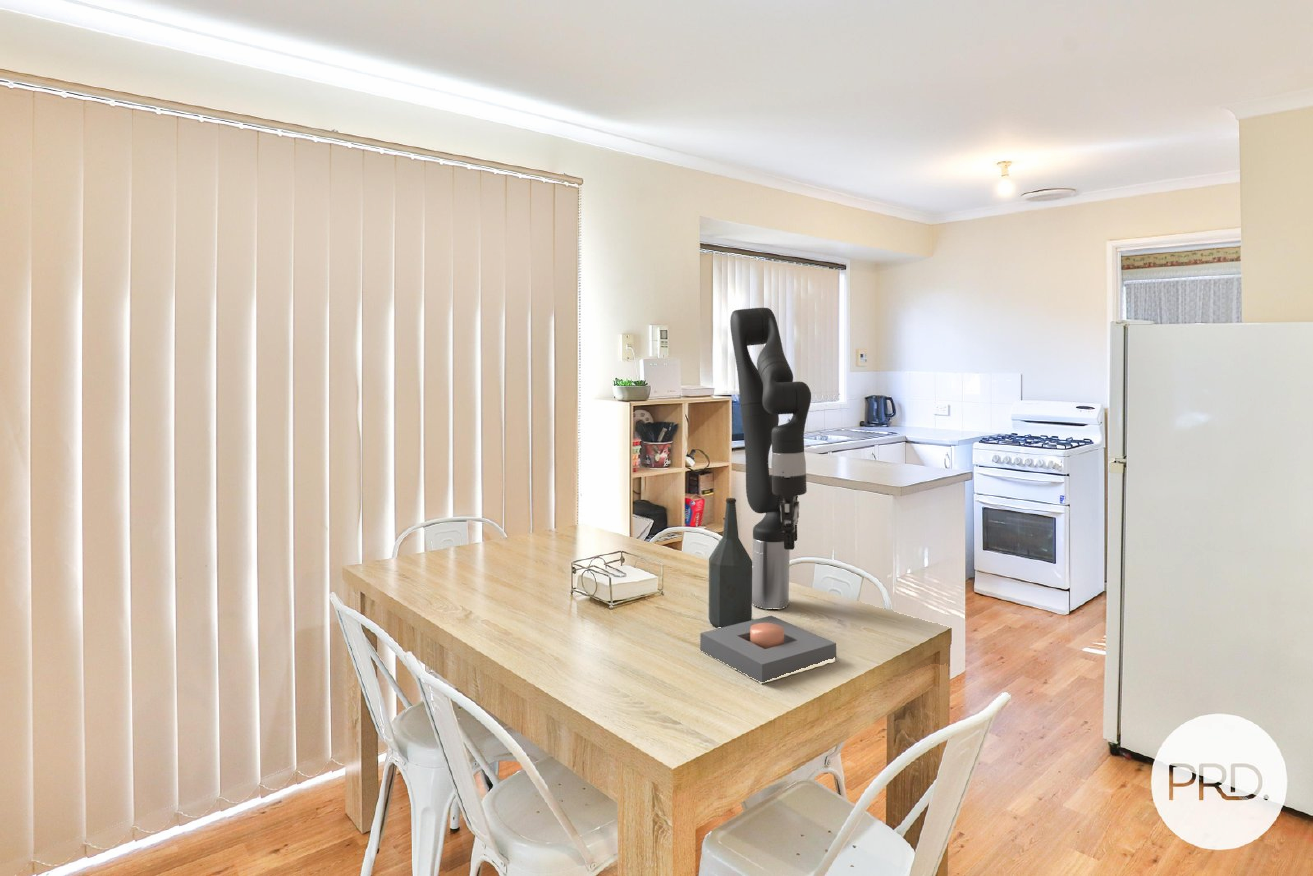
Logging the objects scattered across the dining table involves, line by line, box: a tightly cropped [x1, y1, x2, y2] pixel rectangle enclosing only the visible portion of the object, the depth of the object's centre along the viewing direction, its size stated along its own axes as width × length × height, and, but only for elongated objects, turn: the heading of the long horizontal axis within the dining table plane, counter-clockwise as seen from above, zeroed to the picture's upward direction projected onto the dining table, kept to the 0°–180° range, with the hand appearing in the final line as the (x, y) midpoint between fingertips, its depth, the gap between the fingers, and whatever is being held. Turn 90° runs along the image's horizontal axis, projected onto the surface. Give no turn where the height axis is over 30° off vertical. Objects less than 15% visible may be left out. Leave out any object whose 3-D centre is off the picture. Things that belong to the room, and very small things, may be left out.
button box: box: [699, 615, 837, 682], centre depth 159 cm, size 20×20×4 cm
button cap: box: [750, 623, 784, 649], centre depth 158 cm, size 7×7×4 cm
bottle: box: [708, 497, 753, 628], centre depth 177 cm, size 10×10×30 cm
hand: (790, 544), depth 168 cm, fingers open, 8 cm apart
